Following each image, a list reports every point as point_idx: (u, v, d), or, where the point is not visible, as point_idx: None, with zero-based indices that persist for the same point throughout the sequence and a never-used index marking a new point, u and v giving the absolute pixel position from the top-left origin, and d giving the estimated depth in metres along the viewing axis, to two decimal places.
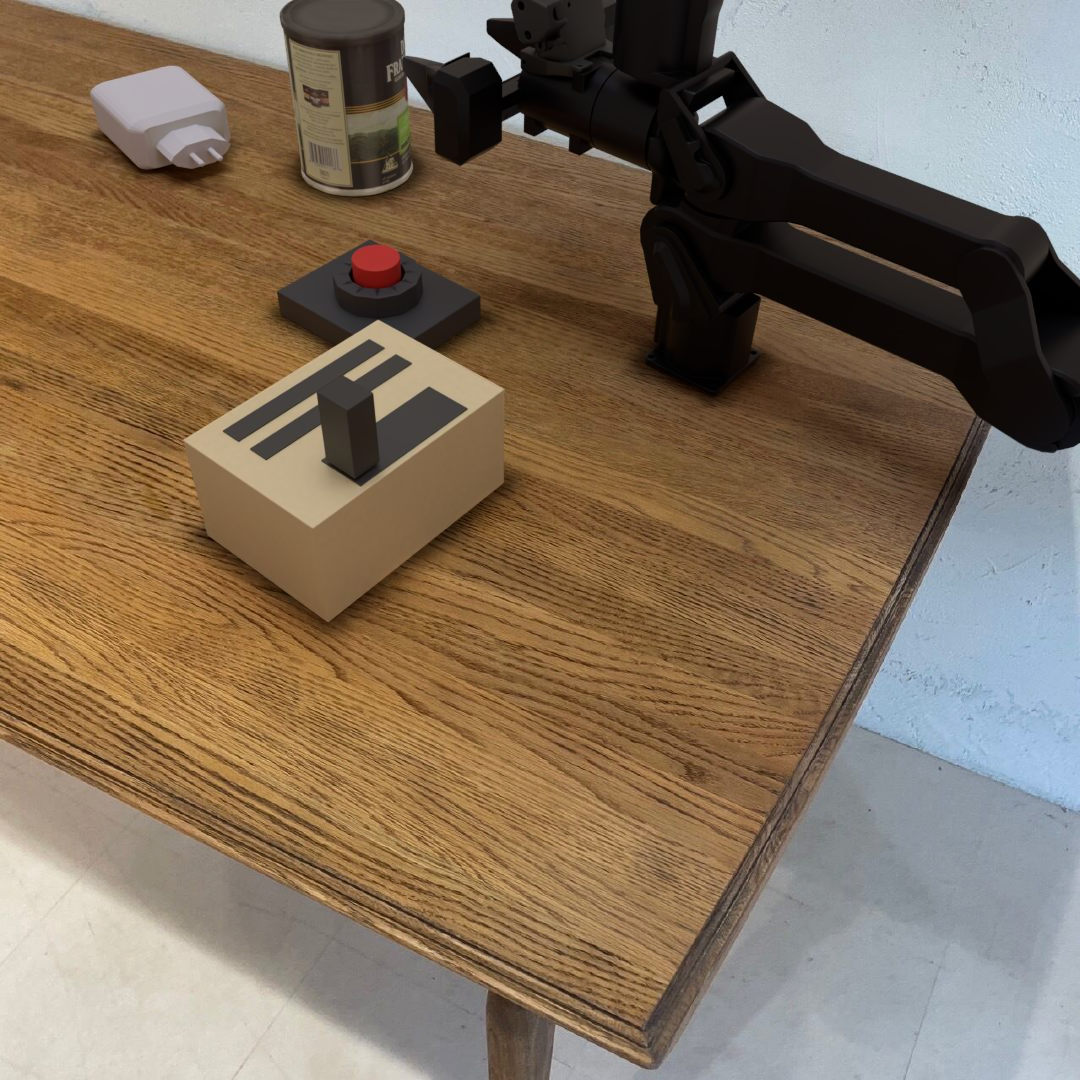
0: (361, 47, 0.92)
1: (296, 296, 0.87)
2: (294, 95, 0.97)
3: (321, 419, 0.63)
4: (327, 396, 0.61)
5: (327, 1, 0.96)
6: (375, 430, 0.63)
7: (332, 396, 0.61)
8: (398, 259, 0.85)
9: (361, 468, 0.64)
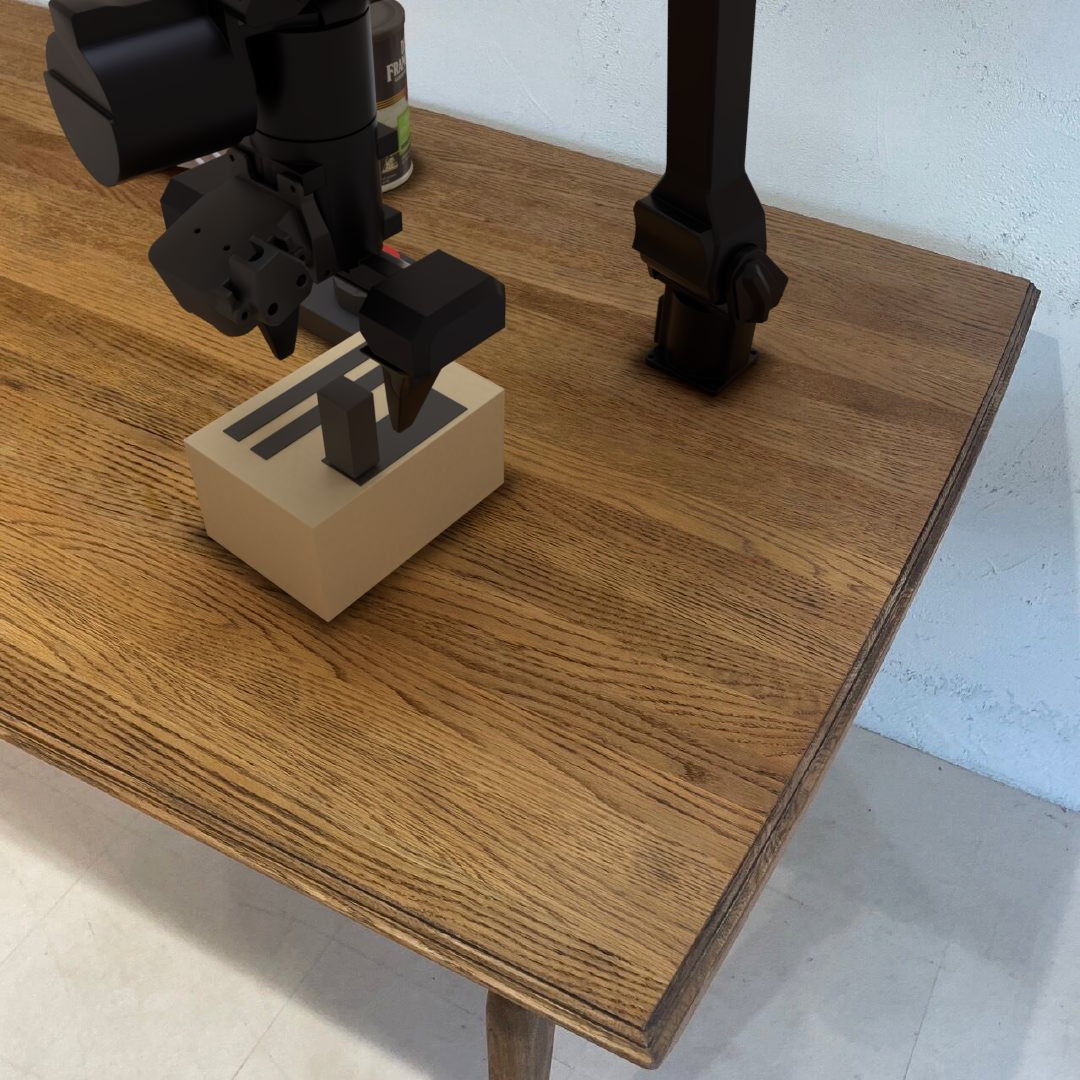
0: None
1: None
2: None
3: (321, 419, 0.63)
4: (327, 396, 0.61)
5: None
6: (375, 430, 0.63)
7: (332, 396, 0.61)
8: None
9: (361, 468, 0.64)
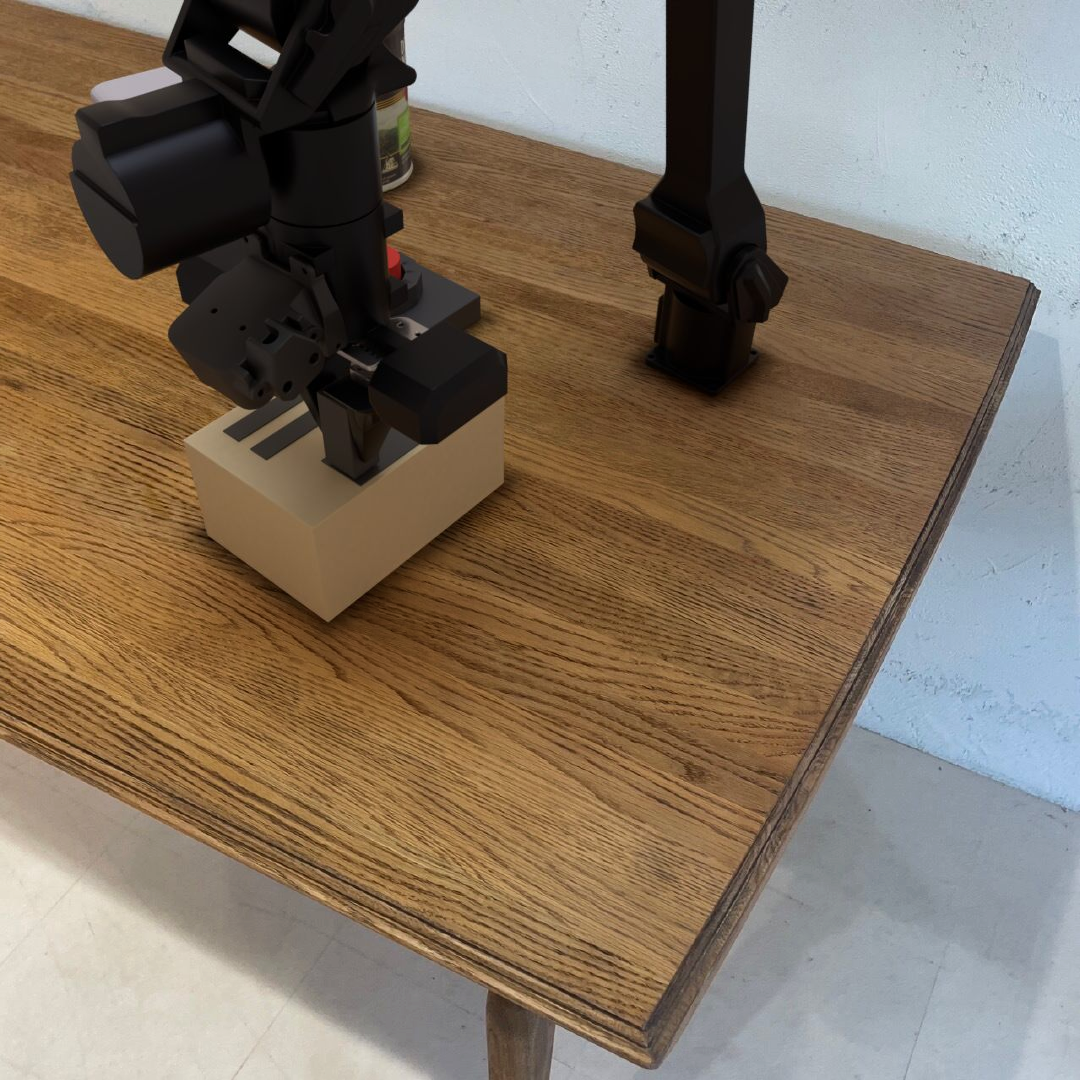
0: None
1: None
2: None
3: (321, 419, 0.63)
4: (327, 396, 0.61)
5: None
6: None
7: None
8: (398, 259, 0.85)
9: (361, 468, 0.64)
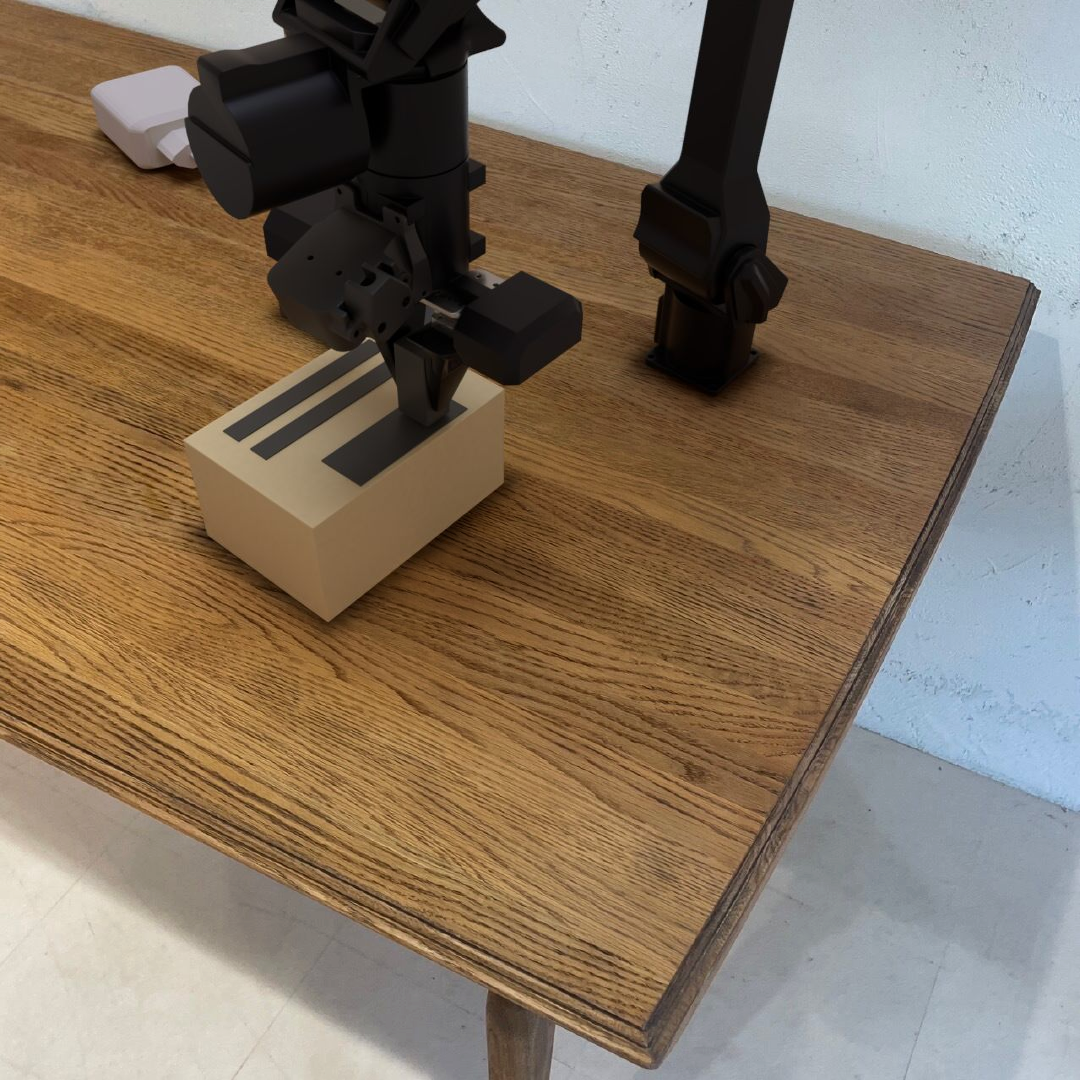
0: None
1: None
2: None
3: (396, 369, 0.66)
4: (404, 346, 0.64)
5: None
6: None
7: (409, 346, 0.64)
8: None
9: (433, 417, 0.67)
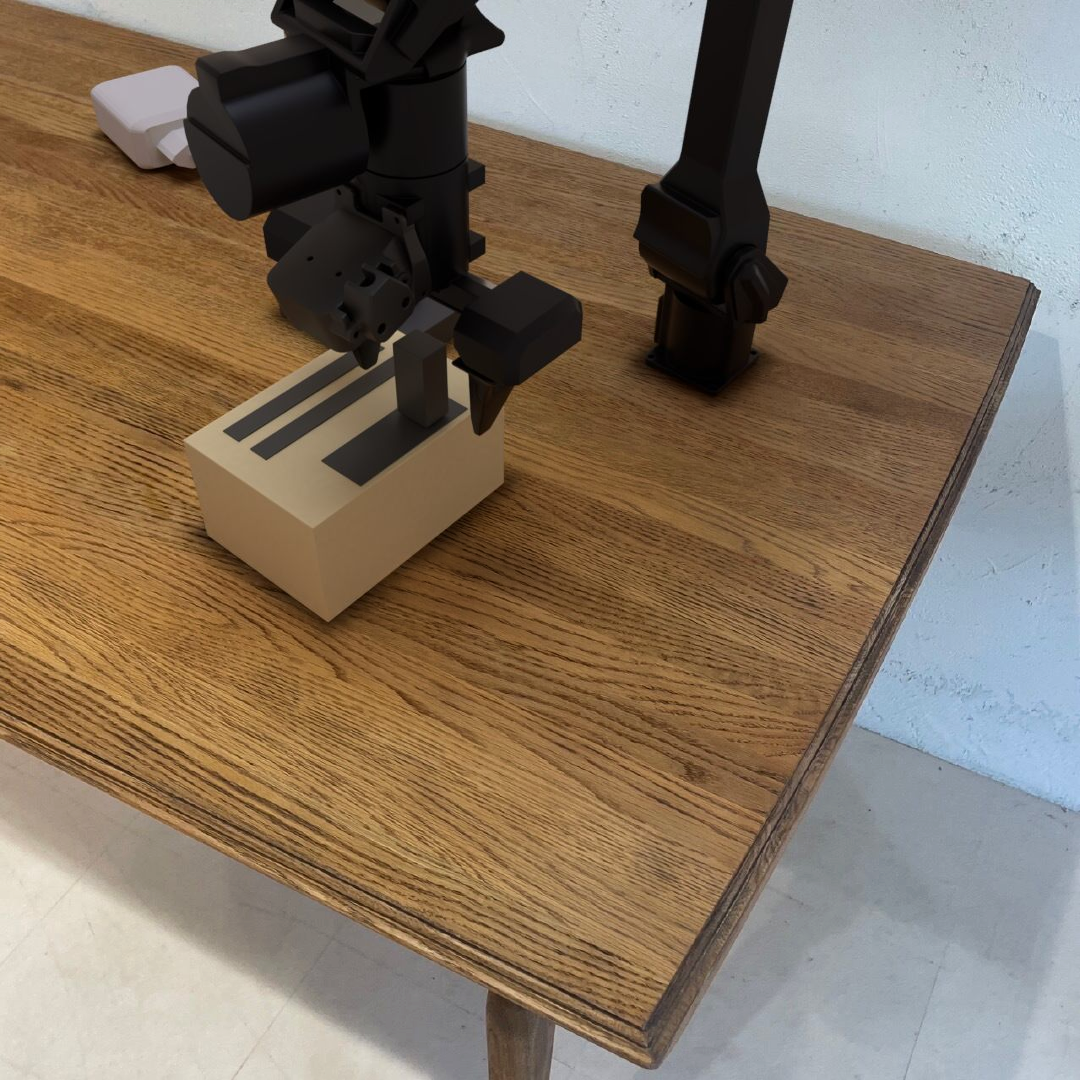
0: None
1: None
2: None
3: (395, 370, 0.66)
4: (403, 347, 0.64)
5: None
6: (446, 381, 0.66)
7: (408, 347, 0.64)
8: None
9: (432, 418, 0.67)
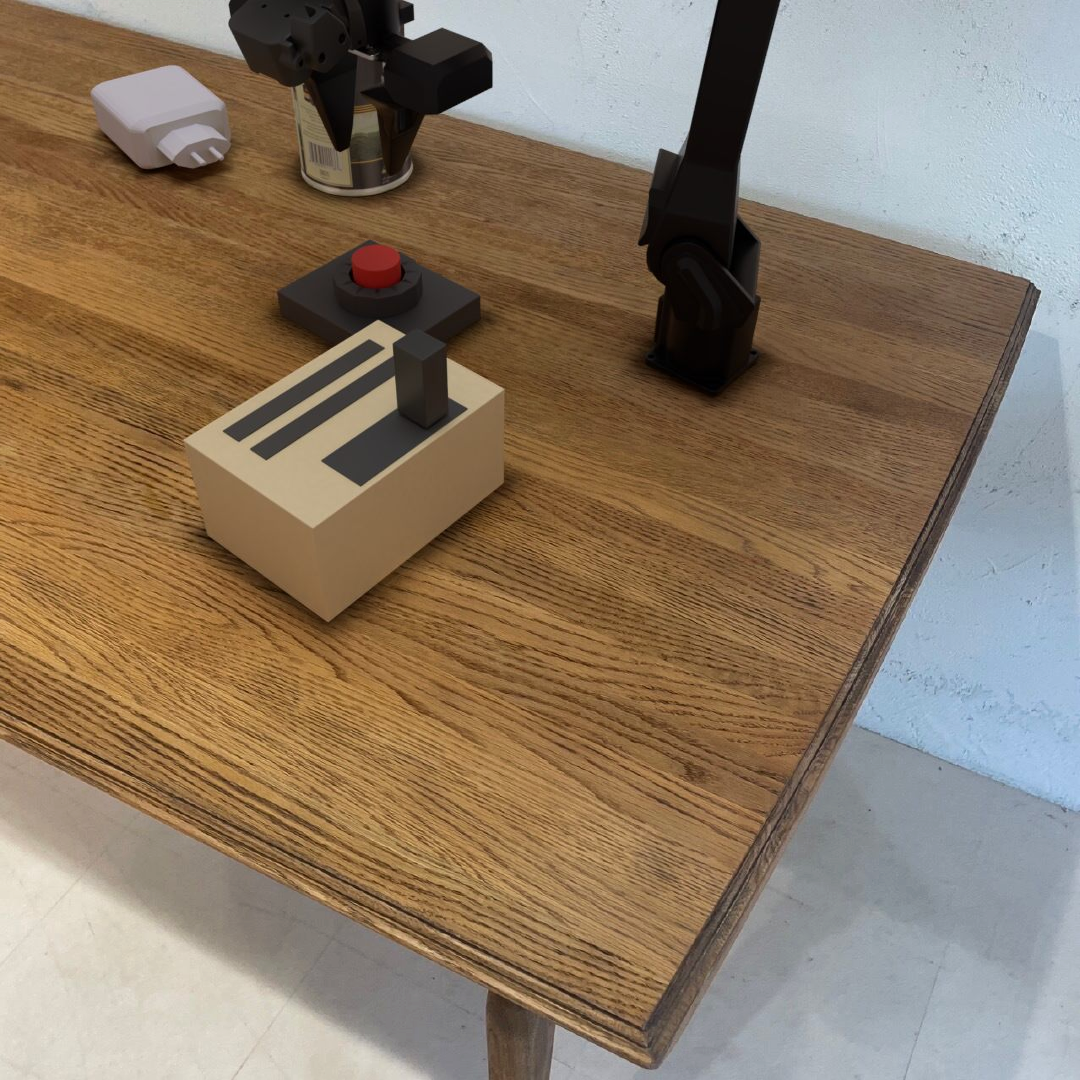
0: None
1: (296, 296, 0.87)
2: (294, 95, 0.97)
3: (395, 370, 0.66)
4: (403, 347, 0.64)
5: None
6: (446, 381, 0.66)
7: (408, 347, 0.64)
8: (398, 259, 0.85)
9: (432, 418, 0.67)
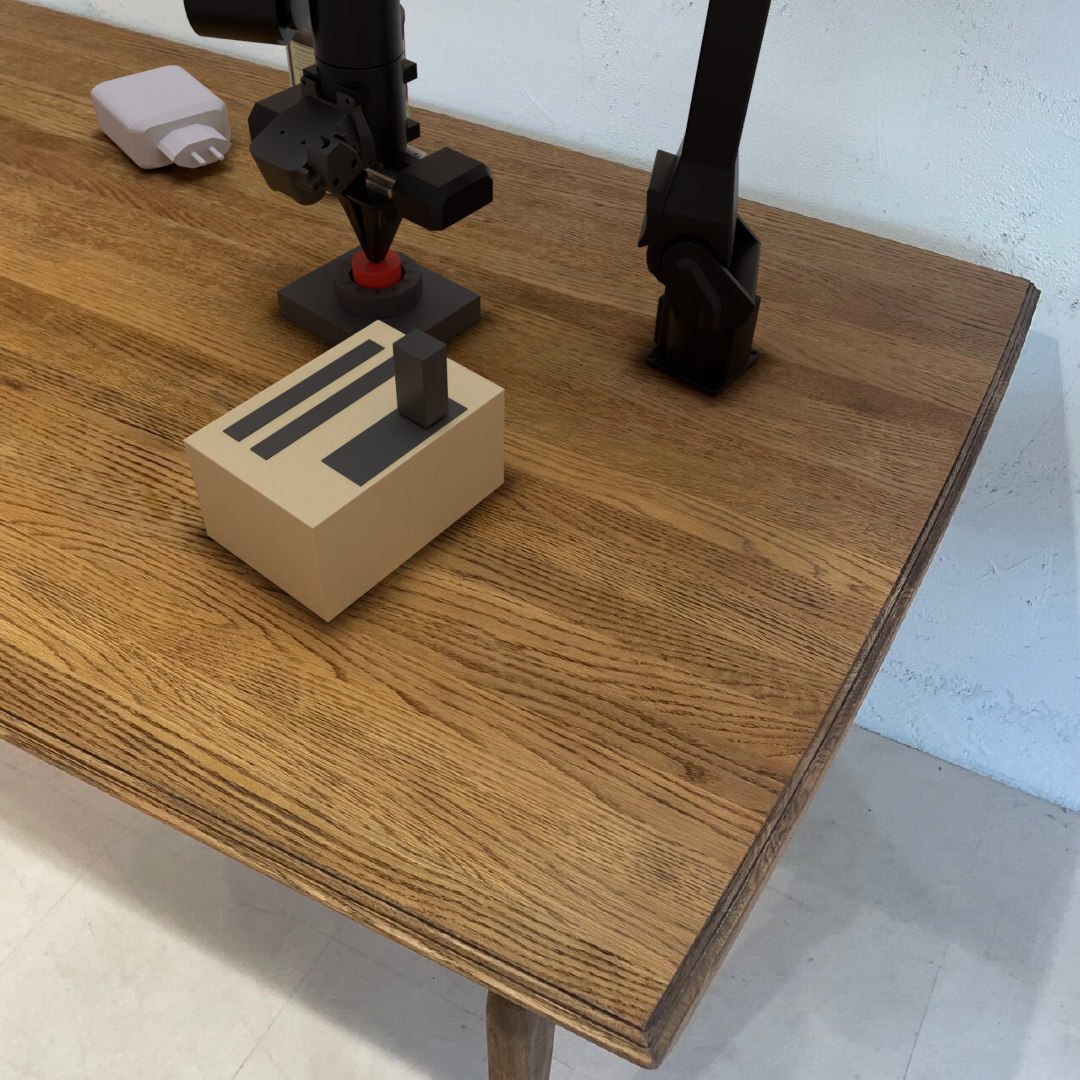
0: None
1: (296, 296, 0.87)
2: None
3: (395, 370, 0.66)
4: (403, 347, 0.64)
5: None
6: (446, 381, 0.66)
7: (408, 347, 0.64)
8: (398, 262, 0.85)
9: (432, 418, 0.67)
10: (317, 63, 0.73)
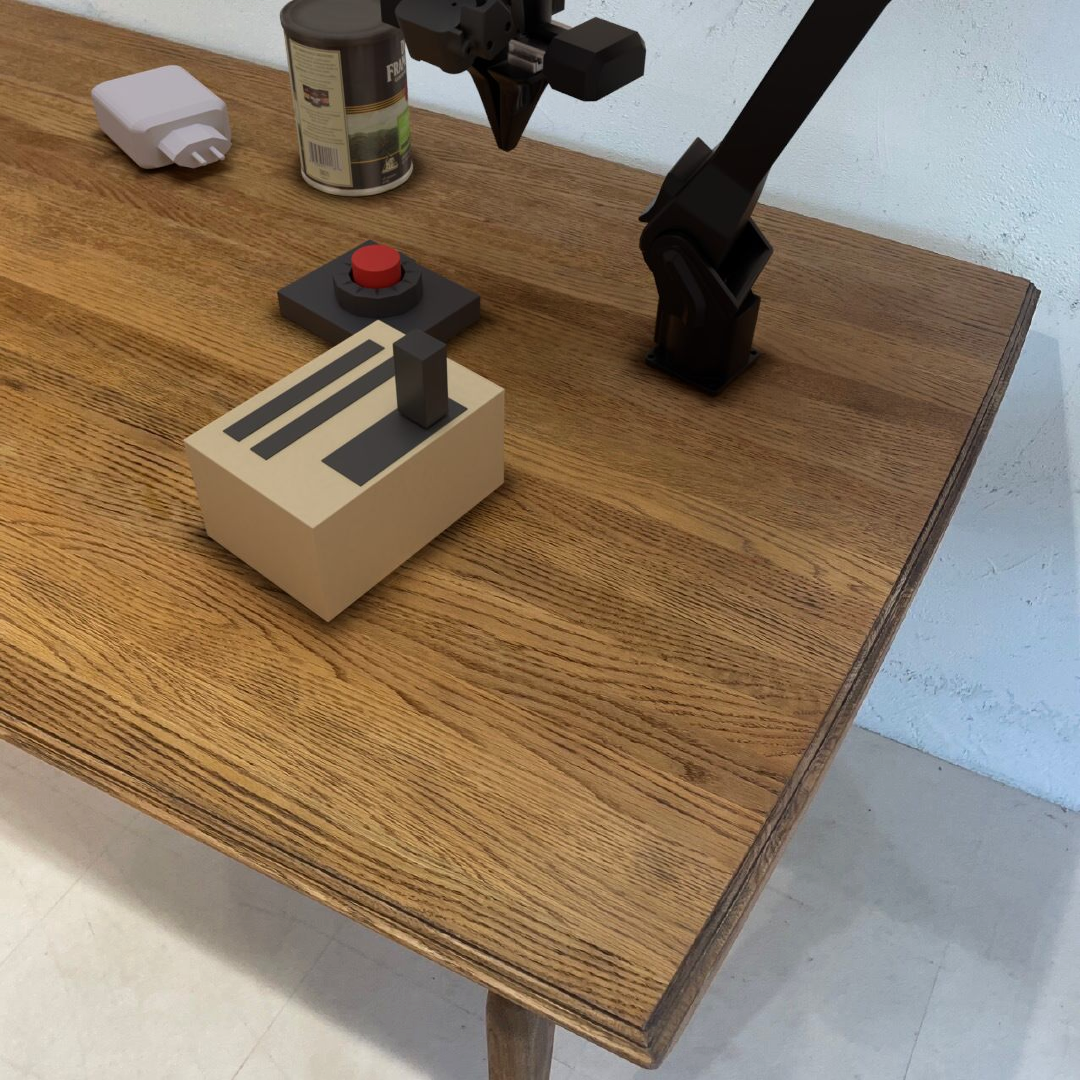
0: (361, 47, 0.92)
1: (296, 296, 0.87)
2: (294, 95, 0.97)
3: (395, 370, 0.66)
4: (403, 347, 0.64)
5: (327, 1, 0.96)
6: (446, 381, 0.66)
7: (408, 347, 0.64)
8: (398, 259, 0.85)
9: (432, 418, 0.67)
10: None
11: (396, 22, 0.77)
